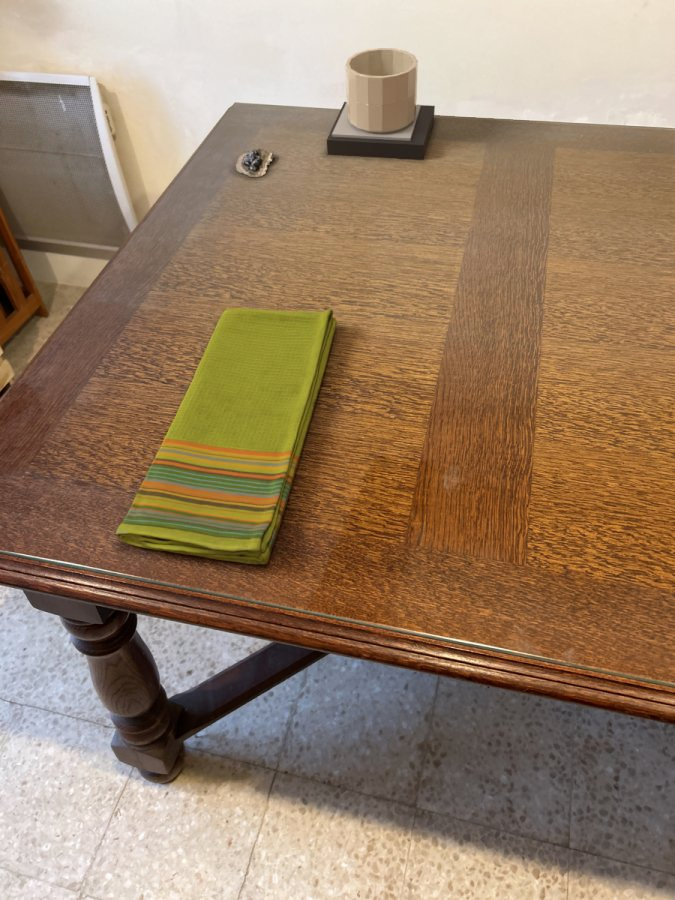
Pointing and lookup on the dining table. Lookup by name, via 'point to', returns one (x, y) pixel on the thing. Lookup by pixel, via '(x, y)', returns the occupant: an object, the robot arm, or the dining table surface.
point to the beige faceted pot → (381, 89)
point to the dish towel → (235, 439)
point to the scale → (382, 137)
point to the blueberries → (254, 162)
